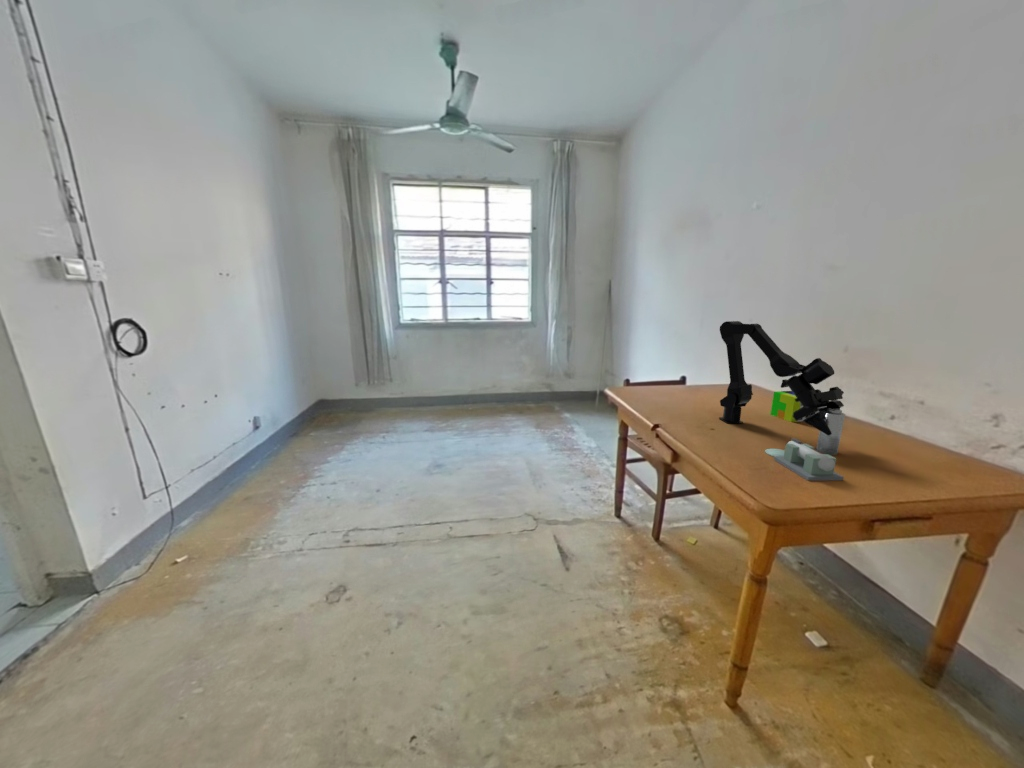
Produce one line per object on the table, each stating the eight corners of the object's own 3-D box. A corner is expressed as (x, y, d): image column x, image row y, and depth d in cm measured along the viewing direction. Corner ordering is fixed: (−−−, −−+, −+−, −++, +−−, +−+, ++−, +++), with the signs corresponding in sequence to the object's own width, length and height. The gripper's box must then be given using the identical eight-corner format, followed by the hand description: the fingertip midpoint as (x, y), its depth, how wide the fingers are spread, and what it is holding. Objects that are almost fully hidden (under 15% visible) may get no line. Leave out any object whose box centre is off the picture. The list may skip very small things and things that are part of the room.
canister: (812, 448, 135) (819, 407, 132) (828, 448, 136) (836, 407, 133) (825, 454, 130) (833, 412, 127) (841, 454, 130) (850, 412, 127)
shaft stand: (773, 459, 126) (777, 438, 124) (805, 459, 126) (809, 438, 124) (807, 480, 112) (812, 456, 110) (843, 480, 112) (848, 456, 111)
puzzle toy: (811, 420, 165) (816, 396, 163) (790, 422, 163) (795, 397, 160) (790, 413, 174) (794, 390, 172) (770, 414, 172) (774, 391, 170)
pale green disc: (759, 449, 134) (759, 448, 134) (783, 449, 134) (783, 448, 134) (775, 459, 126) (775, 458, 126) (801, 458, 127) (801, 458, 126)
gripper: (809, 381, 127) (843, 425, 120) (842, 376, 135) (876, 417, 128) (779, 399, 136) (809, 442, 129) (812, 393, 144) (842, 433, 137)
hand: (835, 433), depth 130 cm, fingers closed on canister, 5 cm apart
